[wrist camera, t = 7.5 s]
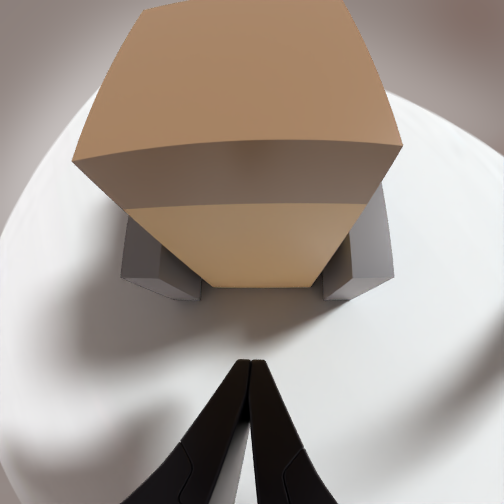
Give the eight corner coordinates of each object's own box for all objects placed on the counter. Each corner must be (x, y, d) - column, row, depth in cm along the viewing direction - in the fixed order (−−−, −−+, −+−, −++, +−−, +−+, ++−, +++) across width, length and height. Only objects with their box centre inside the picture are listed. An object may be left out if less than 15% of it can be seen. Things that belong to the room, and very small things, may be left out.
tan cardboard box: (310, 287, 15) (403, 145, 4) (213, 287, 15) (71, 161, 4) (306, 198, 16) (340, -4, 5) (217, 199, 17) (143, 10, 5)
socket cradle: (351, 299, 15) (394, 277, 9) (173, 299, 16) (120, 277, 10) (337, 152, 17) (356, 83, 12) (187, 155, 18) (157, 90, 12)
